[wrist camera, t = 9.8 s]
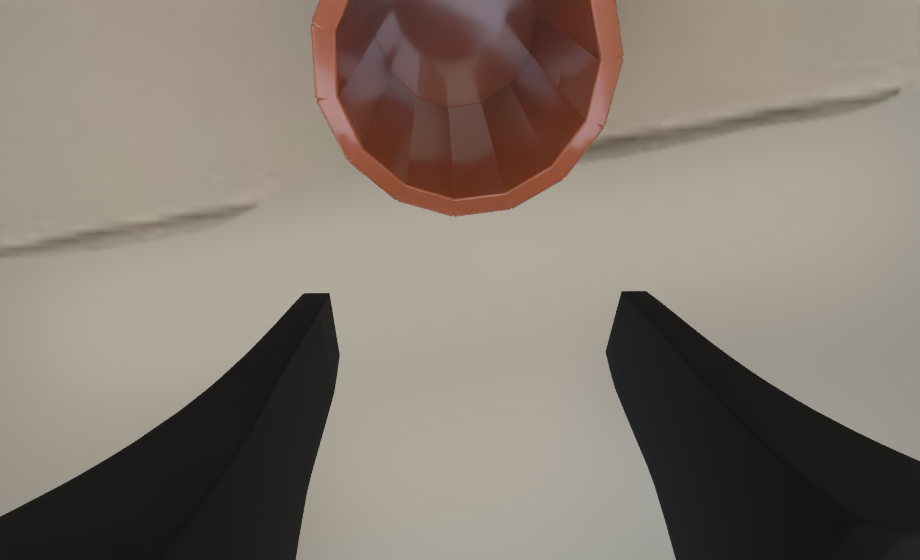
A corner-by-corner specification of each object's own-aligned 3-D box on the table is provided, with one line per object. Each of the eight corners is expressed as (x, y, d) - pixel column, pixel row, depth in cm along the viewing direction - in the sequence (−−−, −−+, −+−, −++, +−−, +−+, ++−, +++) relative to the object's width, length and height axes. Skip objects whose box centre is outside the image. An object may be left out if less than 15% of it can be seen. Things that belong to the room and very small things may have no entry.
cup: (333, 56, 14) (265, 133, 9) (420, -145, 12) (406, -222, 6) (479, 144, 16) (504, 257, 10) (582, -15, 14) (689, 18, 8)
